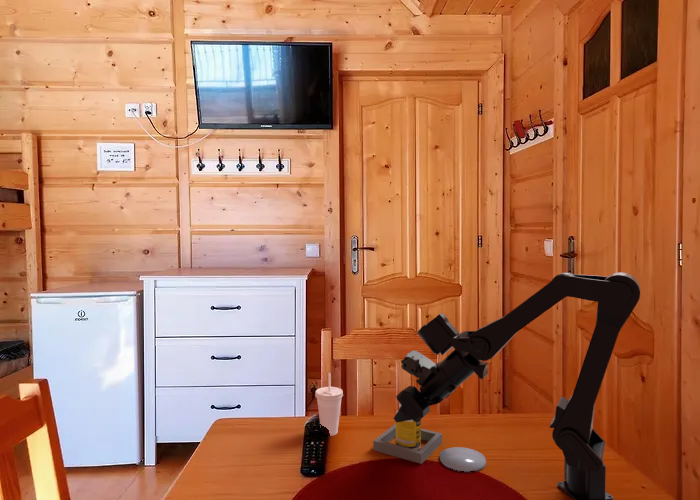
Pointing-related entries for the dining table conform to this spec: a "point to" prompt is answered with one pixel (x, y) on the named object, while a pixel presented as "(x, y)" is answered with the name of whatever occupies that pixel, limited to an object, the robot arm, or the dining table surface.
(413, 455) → the frame
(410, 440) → the supplement bottle
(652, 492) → the dining table surface
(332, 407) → the smoothie
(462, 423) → the dining table surface
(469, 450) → the coaster
